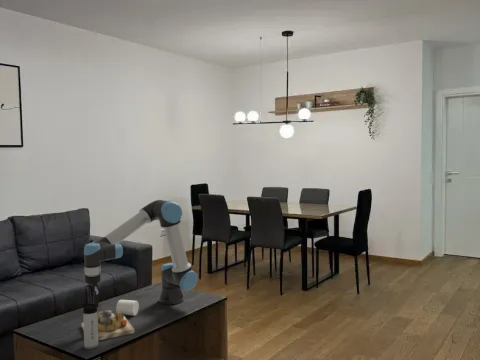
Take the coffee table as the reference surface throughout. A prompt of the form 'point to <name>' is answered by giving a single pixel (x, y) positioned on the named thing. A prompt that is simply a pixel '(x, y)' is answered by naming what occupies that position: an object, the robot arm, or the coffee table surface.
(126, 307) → the mug
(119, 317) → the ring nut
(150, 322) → the coffee table surface
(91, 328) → the travel mug
